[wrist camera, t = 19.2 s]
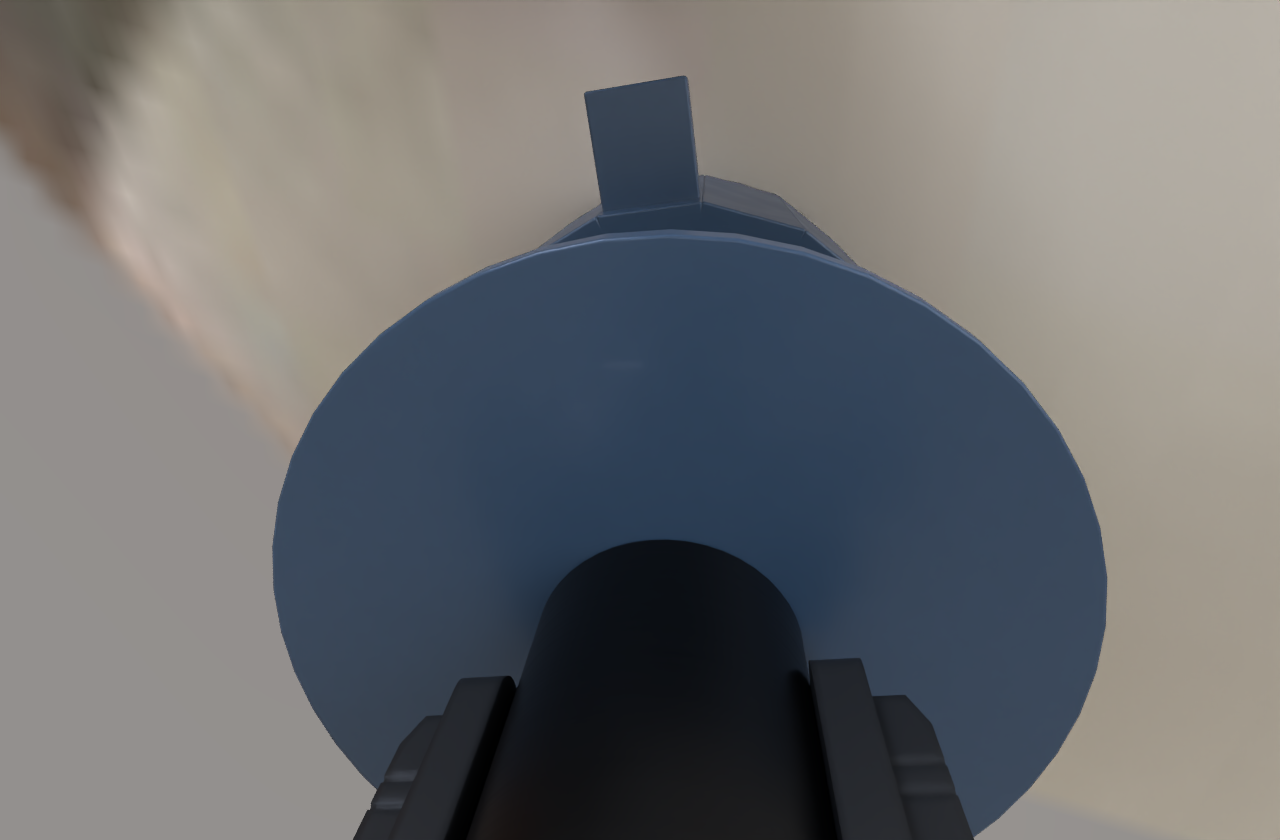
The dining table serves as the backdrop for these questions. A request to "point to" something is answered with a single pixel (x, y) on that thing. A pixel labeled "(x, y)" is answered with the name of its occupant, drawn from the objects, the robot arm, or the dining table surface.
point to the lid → (686, 537)
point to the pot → (673, 176)
